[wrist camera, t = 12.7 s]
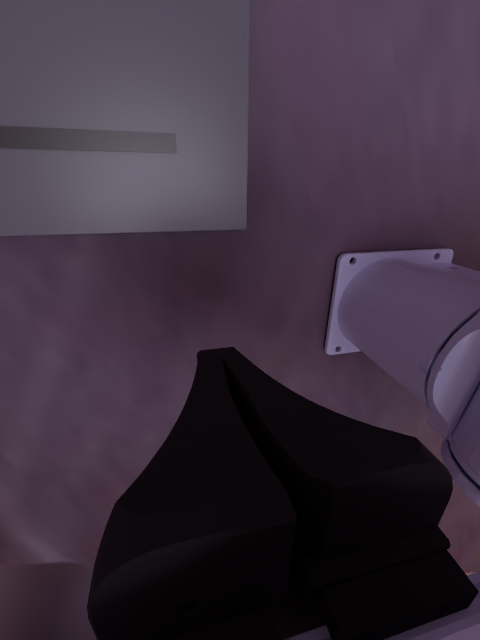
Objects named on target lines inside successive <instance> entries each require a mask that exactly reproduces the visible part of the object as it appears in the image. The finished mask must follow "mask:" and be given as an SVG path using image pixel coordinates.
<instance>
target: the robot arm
mask: <svg viewBox="0 0 480 640" xmlns="http://www.w3.org/2000/svg"><path fill="white" fill-rule="evenodd" d="M435 254H436V256H435ZM434 256H435V257H434ZM351 258H353V261H352V262H351V263H350V259H351ZM452 258H453V250H452V249H448V248H438V249H417V250H397V251H377V252H356V253H343V254H341V255H340V256H339V257H338V260H337V266H336V273H335V280H334V287H333V293H332V300H331V307H330V314H329V321H328V328H327V335H326V342H325V352H326V353H327V354H328V355H336V354H343V353H351V352H359V351H362V352H363V353H364V354H365V355H366V356H367V357H369V358H370V359H371V360H372V361H373V362H375V363H376V364H377V365H378V366H379V367H381V368H382V369H383V370H384V371H385V372H386V373H388V374H389V375H390V376H391V377H392V378H394V379H395V380H396V381H397V382H398V383H400V384H401V385H402V386H403V387H404V388H405V389H407V390H408V391H409V392H410V393H411V394H413V395H414V396H415V397H416V398H417V399H419V400H420V401H421V402H422V403H423V404H424V405H426V406H427V407H428V408H429V409H430V416H429V418H428V421H427V423H428V424H429V425H430V426H431V427H432V428H433V429H434V430H436V431H437V432H438V433H439V434H440V435H441V436H442V437H443V438H444V440H443V442H442V445H441V456H442V459H443V462H444V464H445V466H446V467H445V466H444V465H443V464H442V463H441V462H440V461H439V460H438V459H437V458H436V457H435V456H434V455H433V454H432V453H431V452H430V451H429V450H428V449H427V448H426V447H425V446H424V445H423V444H422V443H421V442H420V441H419V440H418V439H417V438H415V437H412V436H408V435H404V434H401V433H397V432H393V431H390V430H386V429H382V428H379V427H375V426H372V425H369V424H366V423H363V422H360V421H358V420H355V419H352V418H349V417H346V416H344V415H341V414H339V413H336V412H334V411H332V410H329V409H327V408H325V407H323V406H320V405H318V404H316V403H314V402H312V401H310V400H308V399H306V398H304V397H302V396H300V395H299V394H297V393H295V392H293V391H291V390H290V389H288V388H286V387H285V386H283V385H282V384H280V383H279V382H277V381H276V380H274V379H273V378H271V377H270V376H269V375H267V374H266V373H264V372H263V371H262V370H260V369H259V368H258V367H257V366H255V365H254V364H253V363H252V362H250V361H249V360H248V359H247V358H246V357H244V356H243V355H242V354H241V353H240V352H239V351H237V350H236V349H235V348H234V347H227V348H219V349H210V350H201V351H199V352H198V353H197V369H196V374H195V377H194V381H193V385H192V388H191V390H190V393H189V396H188V398H187V401H186V403H185V405H184V408H183V410H182V412H181V414H180V416H179V418H178V420H177V422H176V423H175V425H174V427H173V428H172V430H171V432H170V434H169V435H168V437H167V439H166V440H165V442H164V443H163V445H162V446H161V448H160V449H159V450H158V452H157V453H156V454H155V456H154V457H153V458H152V460H151V461H150V463H149V464H148V465H147V467H146V468H145V469H144V471H143V472H142V473H141V474H140V475H139V477H138V478H137V479H136V480H135V481H134V482H133V483H132V485H131V486H130V487H129V488H128V489H127V490H126V491H125V493H124V494H123V495H122V496H121V497H120V498H119V499H118V500H117V502H116V503H115V505H114V507H113V510H112V512H111V515H110V517H109V520H108V522H107V525H106V528H105V531H104V534H103V537H102V540H101V543H100V546H99V550H98V553H97V557H96V561H95V565H94V569H93V575H92V581H91V587H90V592H89V598H88V604H87V611H88V619H89V621H90V624H91V626H92V629H93V631H94V633H95V635H96V638H97V640H480V572H477V573H474V574H471V575H468V576H467V575H466V574H465V573H464V571H463V570H462V569H461V568H460V566H459V565H458V564H457V562H456V561H455V560H454V559H453V557H452V556H451V555H450V553H449V552H448V551H447V550H446V549H449V547H450V542H449V539H448V538H447V537H446V536H445V534H444V533H443V532H442V531H441V530H440V528H439V527H438V524H439V521H440V519H441V517H442V515H443V513H444V511H445V508H446V506H447V504H448V502H449V500H450V497H451V493H452V490H453V483H452V477H453V479H454V480H455V482H456V483H457V484H458V485H459V486H460V488H461V489H462V490H463V491H464V492H465V494H466V495H467V496H468V497H469V498H470V499H471V500H472V501H473V502H474V503H475V504H476V505H477V506H478V507H479V508H480V271H477V270H474V269H470V268H467V267H463V266H459V265H456V264H452V263H451V261H452ZM338 346H339V347H338ZM336 347H338V348H337V349H336ZM335 349H336V350H335Z"/></svg>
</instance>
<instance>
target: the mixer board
mask: <svg viewBox="0 0 480 640" xmlns="http://www.w3.org/2000/svg"><path fill="white" fill-rule="evenodd" d="M249 35H250V0H0V236H24V235H61V234H97V233H134V232H170V231H207V230H243V229H246V226H247V162H248V99H249Z"/></svg>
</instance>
